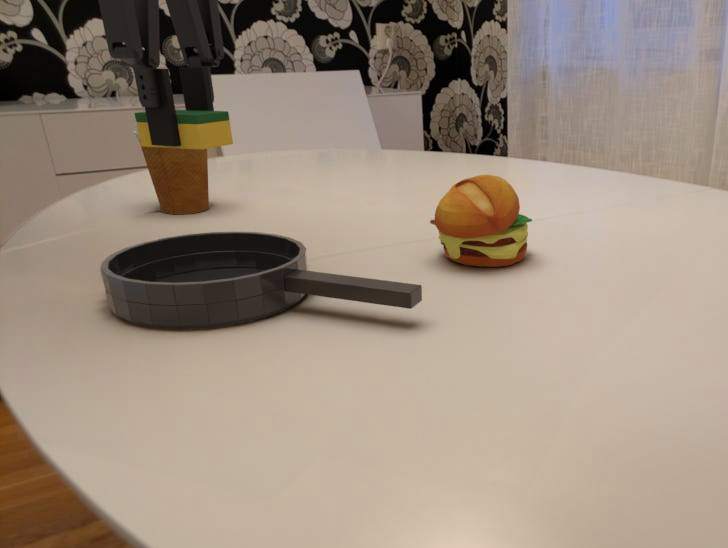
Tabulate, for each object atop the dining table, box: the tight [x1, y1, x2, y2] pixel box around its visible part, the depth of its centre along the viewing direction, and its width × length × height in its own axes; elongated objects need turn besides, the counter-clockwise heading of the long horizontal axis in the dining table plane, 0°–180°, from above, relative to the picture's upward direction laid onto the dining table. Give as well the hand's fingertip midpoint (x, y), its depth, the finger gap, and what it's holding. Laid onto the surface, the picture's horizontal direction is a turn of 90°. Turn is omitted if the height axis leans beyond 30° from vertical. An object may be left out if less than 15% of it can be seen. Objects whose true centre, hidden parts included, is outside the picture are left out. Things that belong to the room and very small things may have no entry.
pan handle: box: [283, 270, 423, 310], centre depth 57 cm, size 12×2×1 cm, turn 70°
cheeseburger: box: [429, 174, 533, 268], centre depth 73 cm, size 10×11×10 cm
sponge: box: [134, 109, 234, 150], centre depth 64 cm, size 7×4×3 cm, turn 71°
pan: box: [99, 231, 310, 331], centre depth 61 cm, size 17×17×4 cm
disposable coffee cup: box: [132, 121, 210, 215], centre depth 93 cm, size 10×10×12 cm
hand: (186, 141), depth 64 cm, fingers closed on sponge, 4 cm apart
